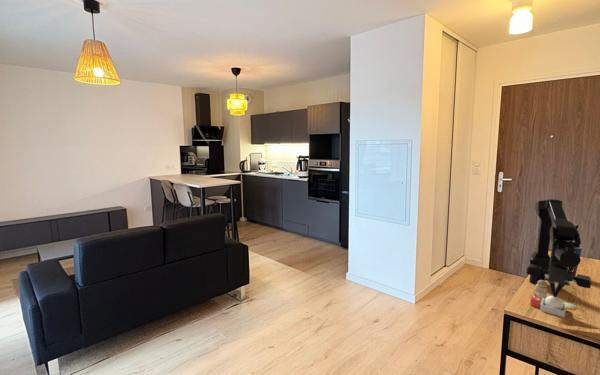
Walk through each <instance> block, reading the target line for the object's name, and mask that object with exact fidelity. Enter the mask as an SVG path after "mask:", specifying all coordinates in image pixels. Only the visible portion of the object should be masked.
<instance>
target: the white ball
mask: <svg viewBox="0 0 600 375" xmlns="http://www.w3.org/2000/svg"><path fill="white" fill-rule="evenodd" d="M563 303H564V302H563V300H562V299H561V298H559V297H558V296H556V297H554V296H553V295H548V296H546V299H545V304H544V305H545V306H549V307H552V308H556V309H560V310H562V308H563Z"/></svg>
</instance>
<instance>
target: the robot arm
mask: <svg viewBox="0 0 600 375" xmlns="http://www.w3.org/2000/svg"><path fill="white" fill-rule="evenodd" d="M534 209H535V210H534V211H536V212H535V214H536V216H537V218H538V219H539V222H538V230H537V237H536V238H537V239H536V248H535V251H534V252H533V253H532V254H531V255H530V259H529V260H528V261H527V263H526V265H525V266H526V275H529V283H530V284H532V285H534V286H535V285H536V284H537V282H538V281H539V280H544V281H545V282H548V284H549V286H550V289H551V293H552V296H554V297H558V295H559V294H560V292H561V290H562V289H563V288H565V286H570V282H576V285H577V286H578V287H581V288H585V289H591V286H592V278H591V277H590V276H589V275H583V274H579V273H576V276H573V272H572V271H568V270H569V267H575V266H577V265H578V266H579V265H580V263H581V262H582V261H581V260H582V259H581V255H580V256H579V255H578V254H577V253H576V252H575V249H574V247H578V248H579V247H581V246H580V245H581V244H582V242H581V237H580V233H579V231H578V229H577V228H576V226H575V225H574V223H573V222H571V221H569V220H568V218H567V216H566V213H565V210H564V208H563V200H561V199H551V198H548V199H545V200H544V199H543V200H538V201H537V202H535V205H534ZM550 242H551V243H550ZM550 244H551V251H550ZM549 252H550V254H549ZM556 283H557V286H556Z"/></svg>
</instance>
